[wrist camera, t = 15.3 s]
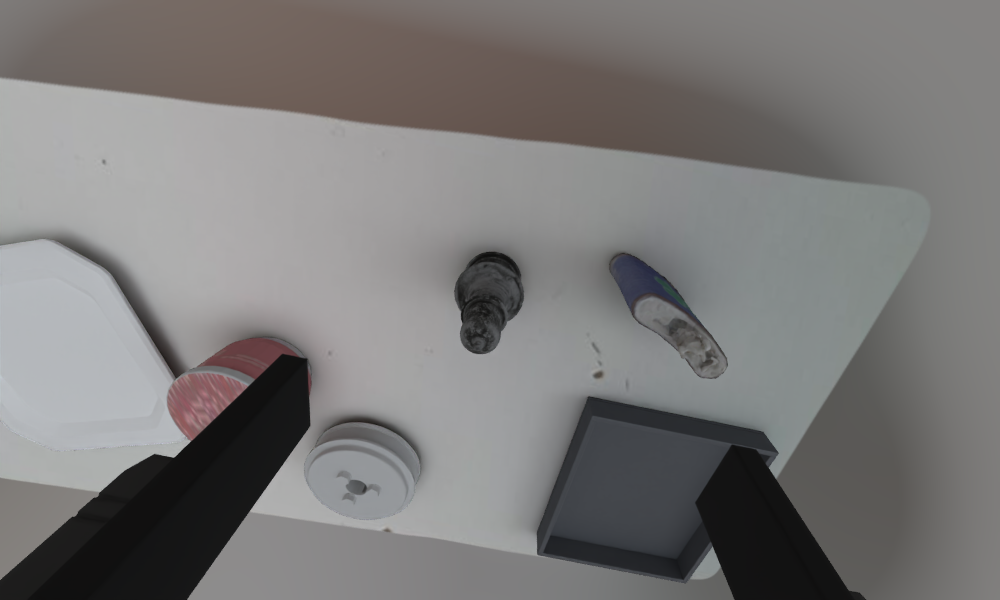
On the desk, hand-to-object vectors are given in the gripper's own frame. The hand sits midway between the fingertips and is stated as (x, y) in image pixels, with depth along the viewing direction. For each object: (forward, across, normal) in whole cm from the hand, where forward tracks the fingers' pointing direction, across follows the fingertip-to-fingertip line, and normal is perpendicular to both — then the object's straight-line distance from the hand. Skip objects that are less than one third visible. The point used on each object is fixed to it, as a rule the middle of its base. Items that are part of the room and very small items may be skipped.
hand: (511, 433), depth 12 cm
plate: (+23, -46, -24) cm, 57 cm away
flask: (+24, +12, -3) cm, 27 cm away
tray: (+24, +20, -28) cm, 42 cm away
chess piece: (+24, -2, -5) cm, 25 cm away
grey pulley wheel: (+24, -12, -31) cm, 41 cm away
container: (+24, -23, -21) cm, 39 cm away
